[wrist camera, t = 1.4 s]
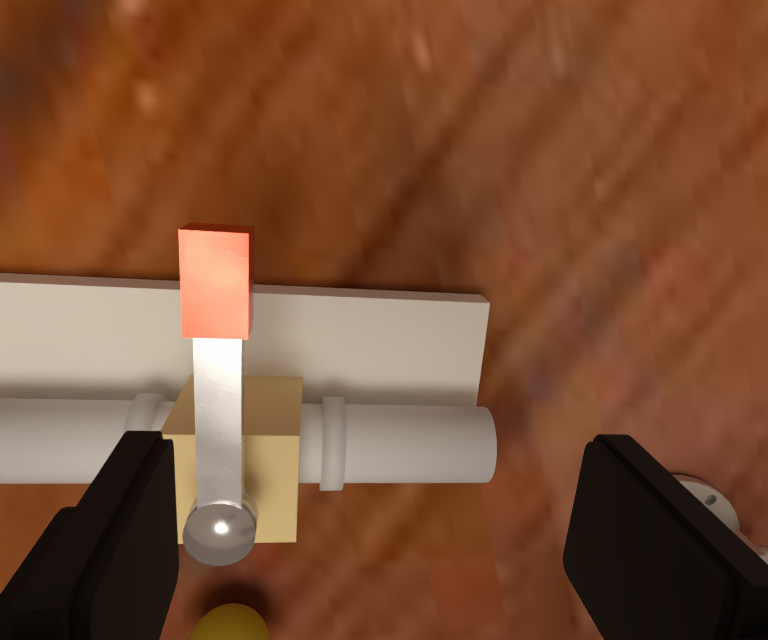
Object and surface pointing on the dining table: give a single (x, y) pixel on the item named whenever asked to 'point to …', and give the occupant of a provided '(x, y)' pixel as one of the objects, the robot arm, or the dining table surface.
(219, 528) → the valve lever
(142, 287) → the valve base
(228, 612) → the lemon
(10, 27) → the dining table surface
